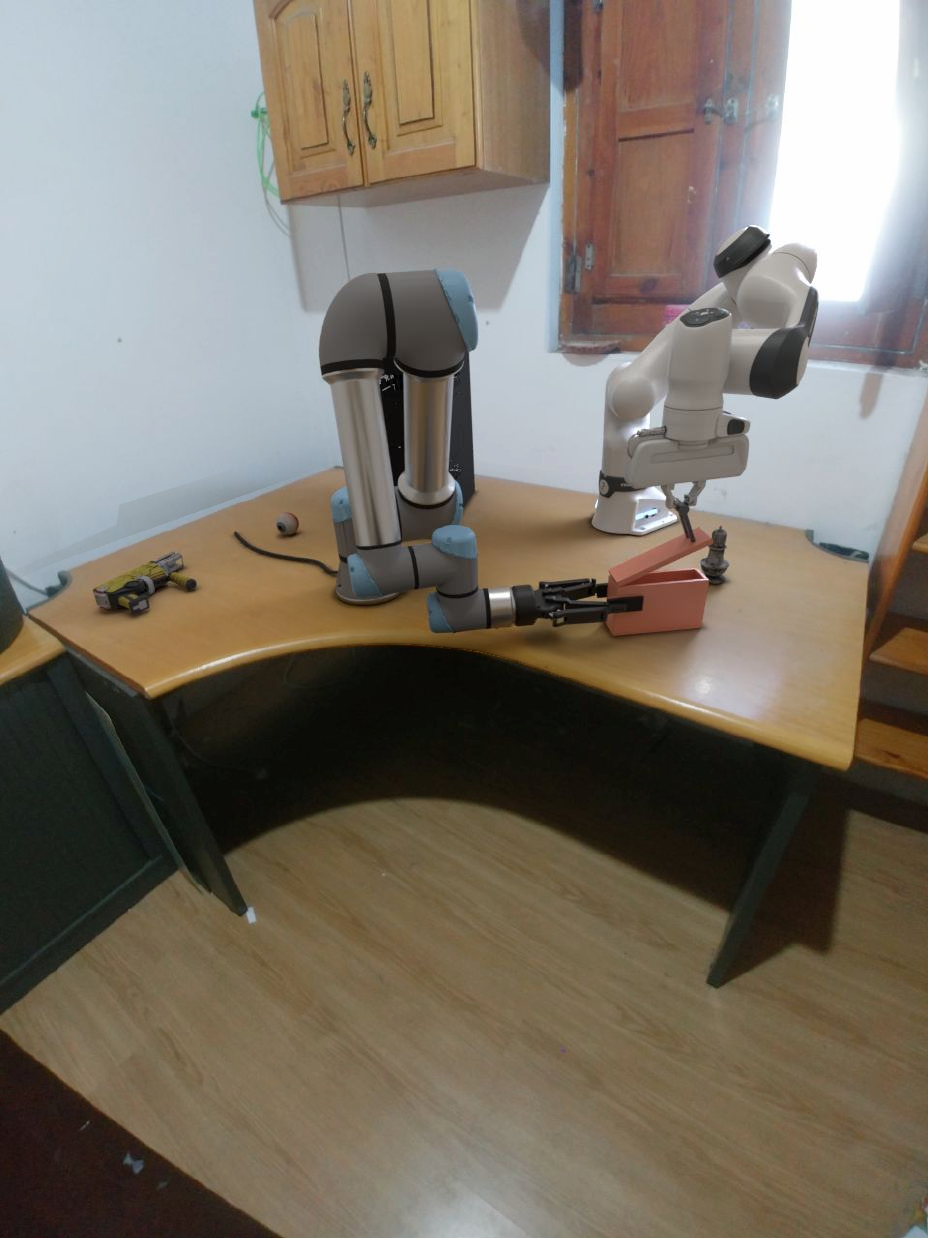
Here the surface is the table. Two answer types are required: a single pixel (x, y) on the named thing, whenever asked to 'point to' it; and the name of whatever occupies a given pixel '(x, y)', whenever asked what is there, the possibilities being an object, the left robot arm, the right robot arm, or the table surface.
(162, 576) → the toy gun
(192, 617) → the table surface
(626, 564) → the lid
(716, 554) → the salt shaker
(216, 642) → the table surface
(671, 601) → the chest
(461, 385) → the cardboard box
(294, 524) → the eyeball
